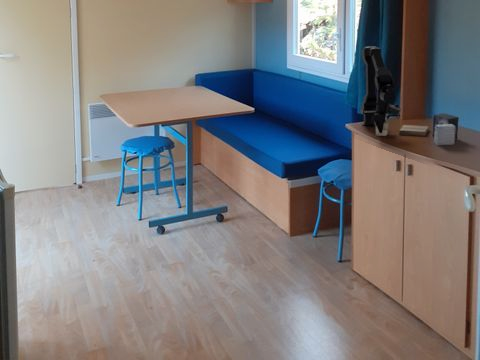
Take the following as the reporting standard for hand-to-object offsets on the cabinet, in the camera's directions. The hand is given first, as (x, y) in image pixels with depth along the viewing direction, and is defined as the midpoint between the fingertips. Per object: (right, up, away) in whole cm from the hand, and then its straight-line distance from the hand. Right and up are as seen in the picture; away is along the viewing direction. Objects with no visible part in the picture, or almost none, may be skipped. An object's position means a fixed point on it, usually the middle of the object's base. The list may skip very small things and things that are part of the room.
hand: (381, 131), depth 304 cm
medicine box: (+23, -7, -21) cm, 32 cm away
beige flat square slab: (+16, 0, +2) cm, 16 cm away
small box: (+27, -4, -10) cm, 29 cm away
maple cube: (0, -1, 0) cm, 1 cm away
